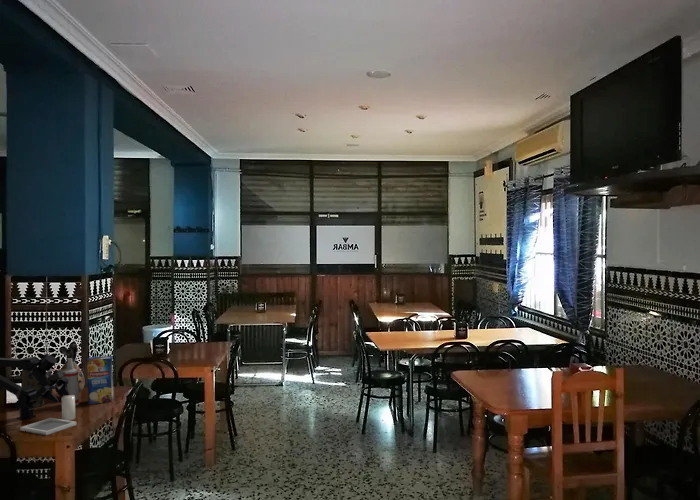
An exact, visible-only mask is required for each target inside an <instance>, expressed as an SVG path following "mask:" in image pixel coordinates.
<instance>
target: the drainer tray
mask: <svg viewBox="0 0 700 500" xmlns="http://www.w3.org/2000/svg"><path fill="white" fill-rule="evenodd" d="M74 426H77V421H76V420H75V421H73V420H62V418H56V417H55V418H54V417H49V418H45V419H43V420H39V421H36V422H32V423H30V424H27V425H22V426H20V428H19V429H20V430H19V431H22V432H25V431H26V433H32V434H36V435H42V436H48V435H52V434H55V433H57V432H60V431H63V430H66V429H70V428H73V427H74Z"/></svg>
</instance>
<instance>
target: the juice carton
mask: <svg viewBox="0 0 700 500" xmlns="http://www.w3.org/2000/svg"><path fill="white" fill-rule="evenodd" d="M86 361H87V362H86V363H87V365H86V367H87V369H86V371H87V372H86V373H87V397H88V398H87V400H88V403H87V404H89V405H91V404H104V403H103V402H105V403H112V402H113V400H114V375H113V373H114V372H113V371H114V370H113V355H103V356H89V357H88V358H87V359H86Z"/></svg>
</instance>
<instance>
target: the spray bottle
mask: <svg viewBox="0 0 700 500" xmlns="http://www.w3.org/2000/svg"><path fill="white" fill-rule="evenodd" d="M64 372H65V375H64V377H63V378H67V379H68V380H69V381H68V384H67V389H68V391H69V394H70V395H75V406H78V405H79V404H80V396H79V395H80V394H79V384H78V370H76V369H74V367H73V362H72V358H68V363H67V369H66V370H65V371H64ZM63 396H64V395H63Z"/></svg>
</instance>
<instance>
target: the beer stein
mask: <svg viewBox="0 0 700 500" xmlns="http://www.w3.org/2000/svg"><path fill="white" fill-rule="evenodd" d="M32 370H33V369H30V370H27V371H26V370H22V372H21V376H22V379H21V380H22V385H21V387H26V386H31V387H32V388H35V390H36V391H38V390H39V389H40V388H41V386H42V385H38V383H39V382H38V381H37V380H36V379H35V378H34V377H30V378H28V375H29V373H28V372H31V371H32ZM46 372H47V373H48V374H51V372H50V371H46ZM44 400H45V399H44V398H41V397H40V398H38V399H37V401H36V403H34V404H33V409H35V408H39V407H42V406H44V405H45V401H44Z"/></svg>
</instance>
